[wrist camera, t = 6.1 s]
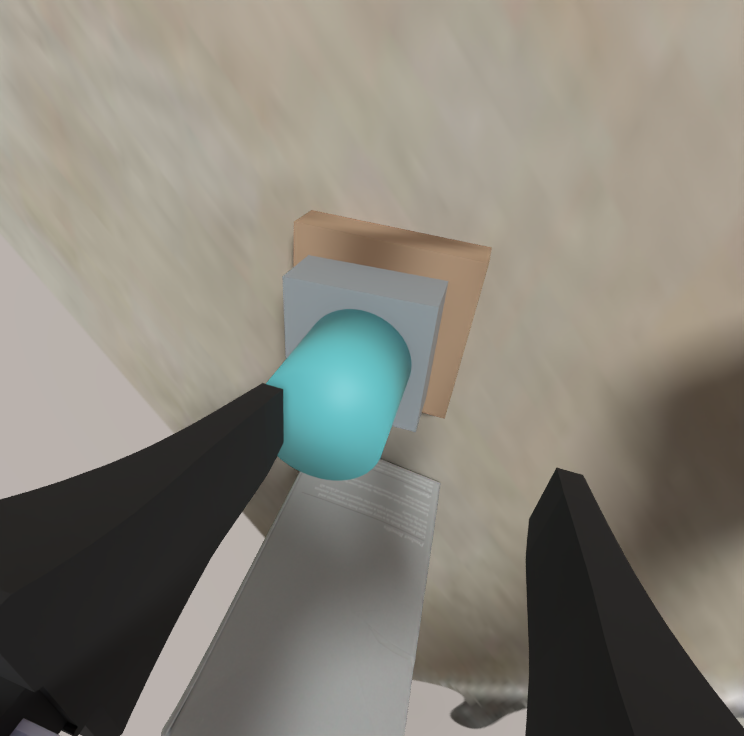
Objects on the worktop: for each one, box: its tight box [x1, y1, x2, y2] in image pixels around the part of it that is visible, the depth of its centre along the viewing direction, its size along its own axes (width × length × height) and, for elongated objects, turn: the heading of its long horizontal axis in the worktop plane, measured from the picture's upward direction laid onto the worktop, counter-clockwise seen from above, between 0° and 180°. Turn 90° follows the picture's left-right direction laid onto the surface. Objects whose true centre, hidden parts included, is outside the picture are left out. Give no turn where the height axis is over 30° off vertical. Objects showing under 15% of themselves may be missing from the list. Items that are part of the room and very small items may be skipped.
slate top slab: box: [283, 255, 448, 432], centre depth 19 cm, size 6×6×2 cm
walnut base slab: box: [293, 210, 492, 419], centre depth 21 cm, size 8×8×2 cm
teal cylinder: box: [266, 309, 412, 481], centre depth 16 cm, size 4×4×4 cm
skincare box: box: [161, 459, 440, 736], centre depth 22 cm, size 8×7×16 cm
